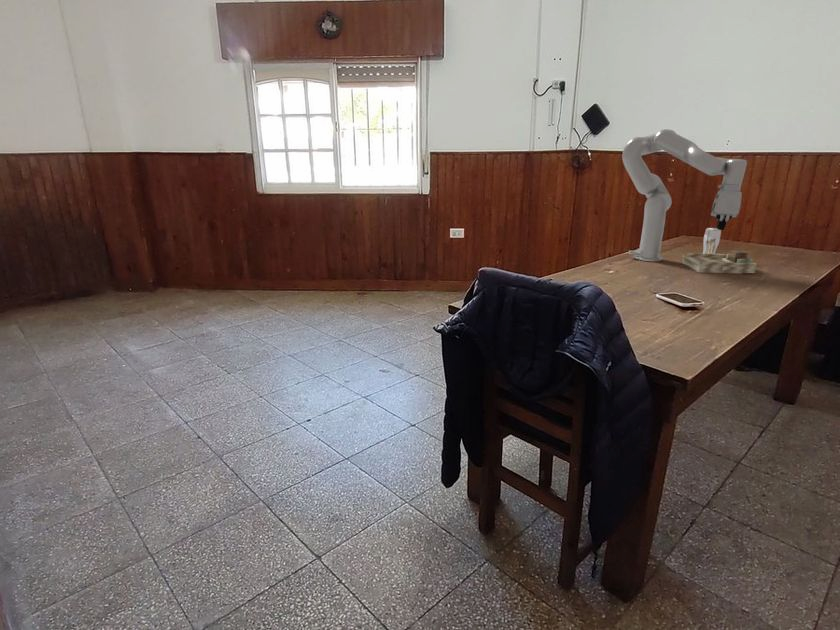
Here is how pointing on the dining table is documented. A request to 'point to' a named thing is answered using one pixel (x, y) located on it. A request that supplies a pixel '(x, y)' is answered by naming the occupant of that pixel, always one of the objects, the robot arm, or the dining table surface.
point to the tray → (717, 263)
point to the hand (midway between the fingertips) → (720, 229)
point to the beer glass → (711, 240)
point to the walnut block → (737, 255)
